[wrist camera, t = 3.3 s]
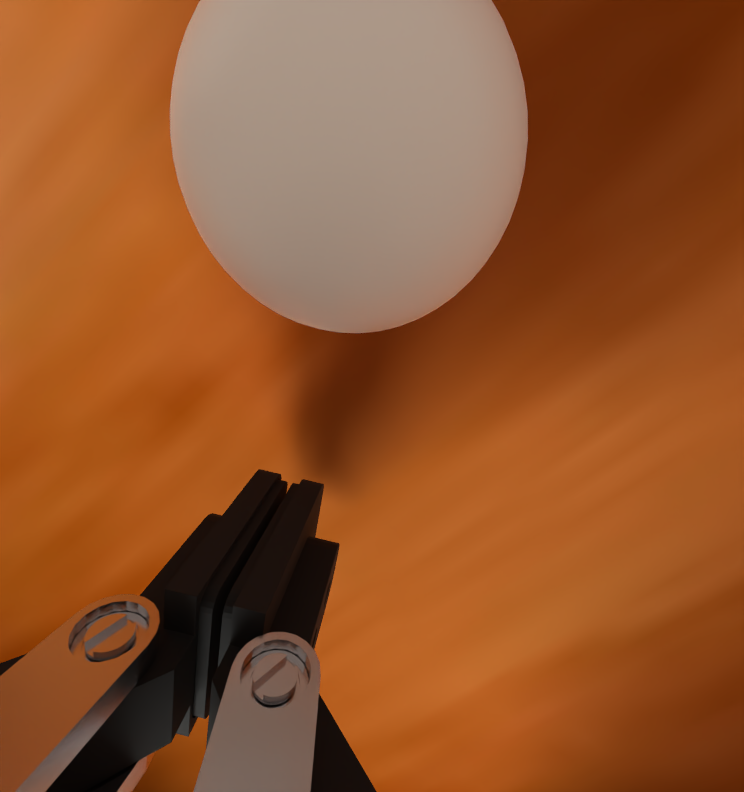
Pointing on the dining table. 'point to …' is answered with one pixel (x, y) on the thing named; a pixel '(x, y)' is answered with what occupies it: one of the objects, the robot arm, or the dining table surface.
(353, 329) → the cue ball
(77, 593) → the dining table surface
